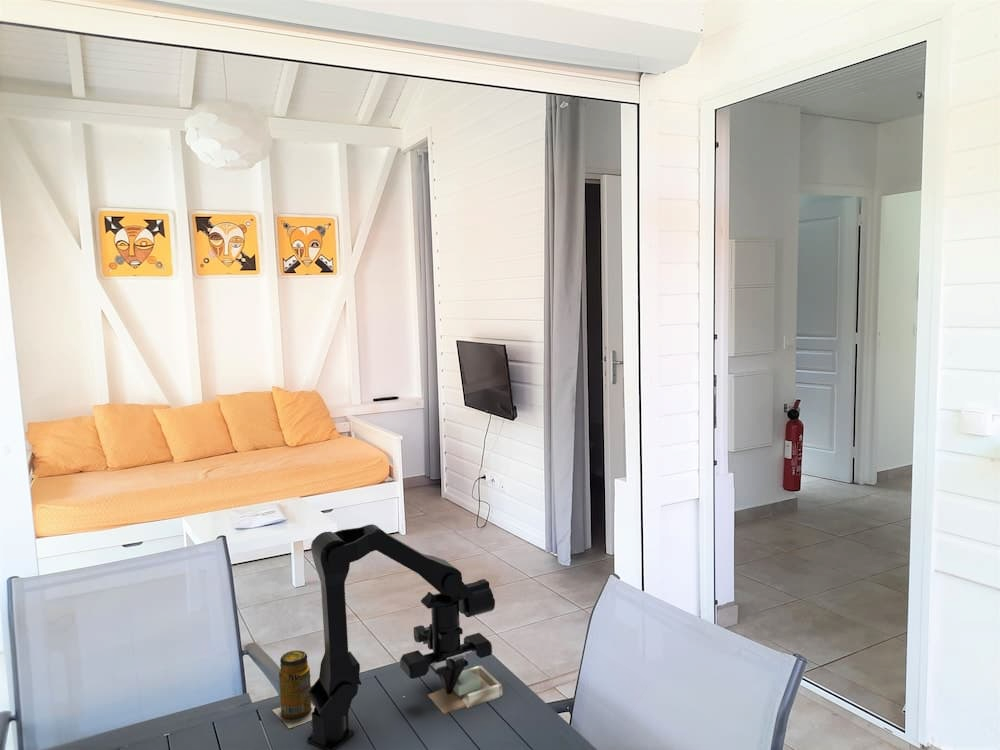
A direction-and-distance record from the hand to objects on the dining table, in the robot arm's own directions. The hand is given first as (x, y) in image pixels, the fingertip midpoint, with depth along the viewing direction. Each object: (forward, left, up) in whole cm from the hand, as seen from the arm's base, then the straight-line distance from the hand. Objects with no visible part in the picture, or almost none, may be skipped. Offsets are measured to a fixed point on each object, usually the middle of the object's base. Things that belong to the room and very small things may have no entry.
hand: (448, 693), depth 151 cm
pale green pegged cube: (+3, -2, -1) cm, 4 cm away
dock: (+3, -2, -2) cm, 4 cm away
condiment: (-19, +25, -2) cm, 31 cm away
